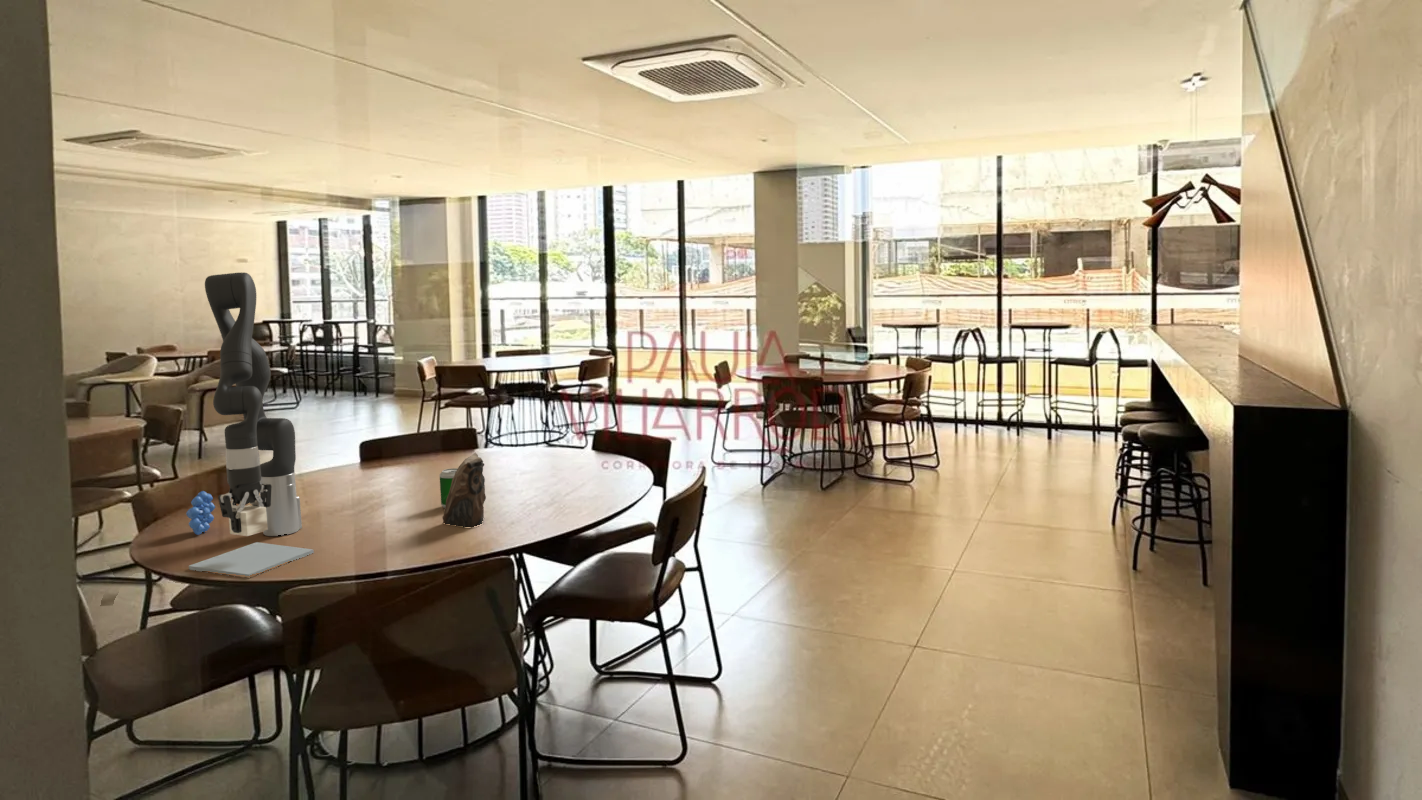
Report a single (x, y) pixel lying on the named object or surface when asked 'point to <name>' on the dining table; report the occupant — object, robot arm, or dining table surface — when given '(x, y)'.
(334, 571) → the dining table surface
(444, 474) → the soda can
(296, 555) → the slate board
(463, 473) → the owl
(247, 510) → the maple block
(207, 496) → the grapes
